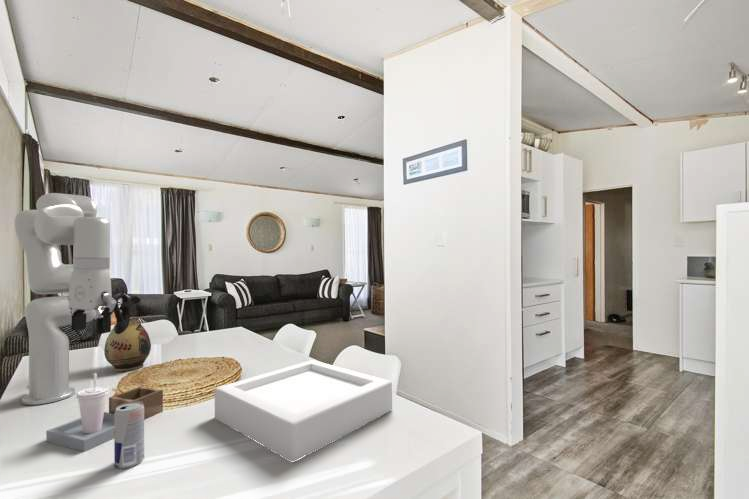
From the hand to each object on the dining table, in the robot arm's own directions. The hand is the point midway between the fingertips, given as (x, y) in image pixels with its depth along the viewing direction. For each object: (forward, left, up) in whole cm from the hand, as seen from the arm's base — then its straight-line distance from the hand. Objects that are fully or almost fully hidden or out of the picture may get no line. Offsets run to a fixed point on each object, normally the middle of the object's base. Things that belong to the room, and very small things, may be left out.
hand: (91, 331), depth 95 cm
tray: (+47, +26, -26) cm, 60 cm away
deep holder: (+4, +10, -25) cm, 27 cm away
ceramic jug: (-41, +39, -25) cm, 62 cm away
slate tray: (+4, -2, -25) cm, 25 cm away
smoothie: (+3, -2, -24) cm, 25 cm away
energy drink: (+25, -7, -25) cm, 36 cm away
